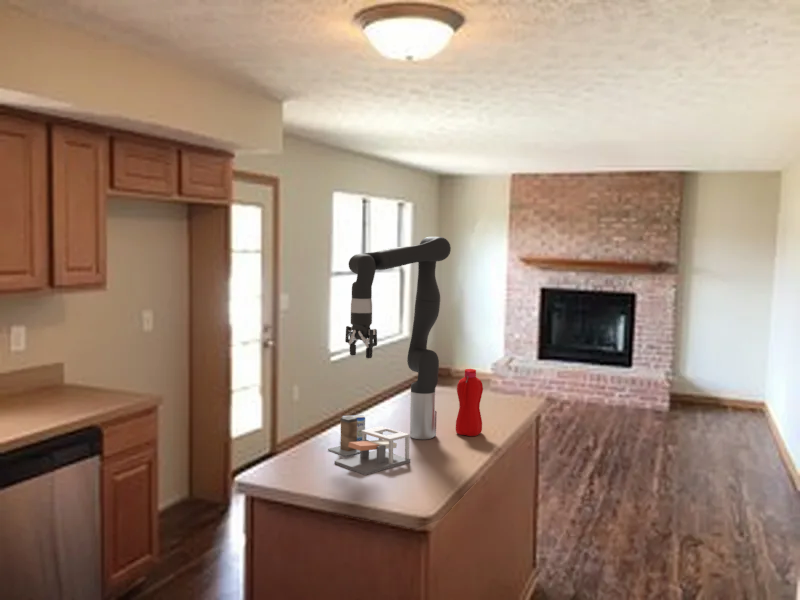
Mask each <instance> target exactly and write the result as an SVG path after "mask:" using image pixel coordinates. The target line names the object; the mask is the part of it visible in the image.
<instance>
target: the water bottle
mask: <svg viewBox="0 0 800 600" xmlns="http://www.w3.org/2000/svg"><path fill="white" fill-rule="evenodd" d="M483 392H484V386H483V383H482V380H481V379H480V378H479V377H477V370H476V369H474V368H467V369H466V368H465V370H464V377H461V379H459V381H458V382H457V385H456V394H457V398H458V402H459V403H458V405H459V409H458V413H457V416H456V420H455V432H456V433H457V435H461V436H468V437H476V436H479V435H480V434H482V431H483V420H482V414H481V409H480V404H481V401H482V396H483Z"/></svg>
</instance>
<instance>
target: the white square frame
mask: <svg viewBox="0 0 800 600" xmlns="http://www.w3.org/2000/svg"><path fill="white" fill-rule="evenodd" d="M384 432H385V433H386V432H388V433H391V434H384ZM361 433H362V440H361V441H370V440H368V439H367V436H370V437H374V438H377V439H378V440H387V441H389V449H388V451H386V450H387V449H386V446H385V445H382V446H378V447H377V450H364V451H360V453H359V454H355V455H351V456H347V457H345V458H341V459H337V460H334V465H337V466H339V467H341V468H345V469H348V470H350V471H353V472H356V473H359V474H362V475H364V476H366V475H369V474H373V473H377V472H381V471H384V470H387V469H390V468H391V469H392V468H394V467H397V466H398V467H399V466H401V465H402V466H403V465H405V464H408V463H411V459H410V443H411V442H410V440H411V439H410V438H411V437H410V433H407V432H403V431H400V430H396V429H392V428H388V427H385V426H382V425H380V426H374V427H371V428H365V430H361ZM401 439H404V440H405V441H404V442H405V443H404V446H405V447H404V456H402V455H398V454H394V448H393V442H394V441H398V440H401Z"/></svg>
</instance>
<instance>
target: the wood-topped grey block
mask: <svg viewBox="0 0 800 600" xmlns="http://www.w3.org/2000/svg"><path fill="white" fill-rule="evenodd" d="M347 416H348V417H343V418H342V417H340V445H339V446H340V449H342V450H345V451H352V450H356V449H354V448H351V447H348V445H349V442H358V441H357V418H354V417H351V416H352V415H347Z"/></svg>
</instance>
